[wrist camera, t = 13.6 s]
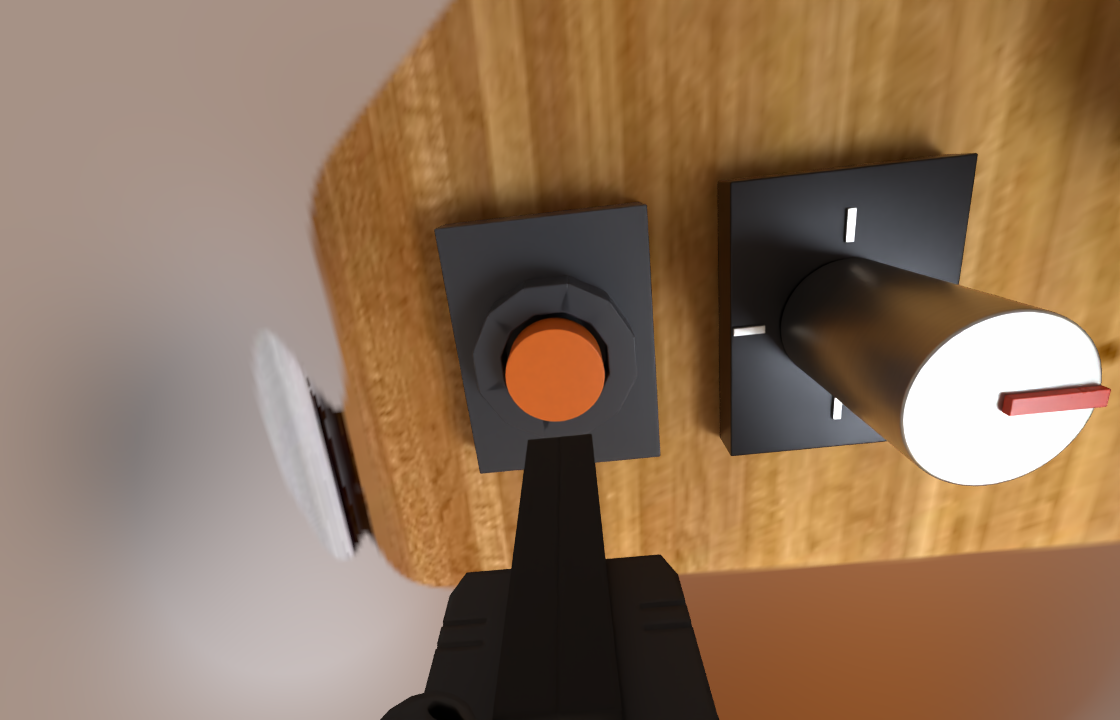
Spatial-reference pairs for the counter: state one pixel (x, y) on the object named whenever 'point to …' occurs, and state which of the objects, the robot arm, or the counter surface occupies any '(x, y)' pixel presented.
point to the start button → (555, 370)
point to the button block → (554, 292)
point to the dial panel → (797, 251)
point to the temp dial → (945, 368)
